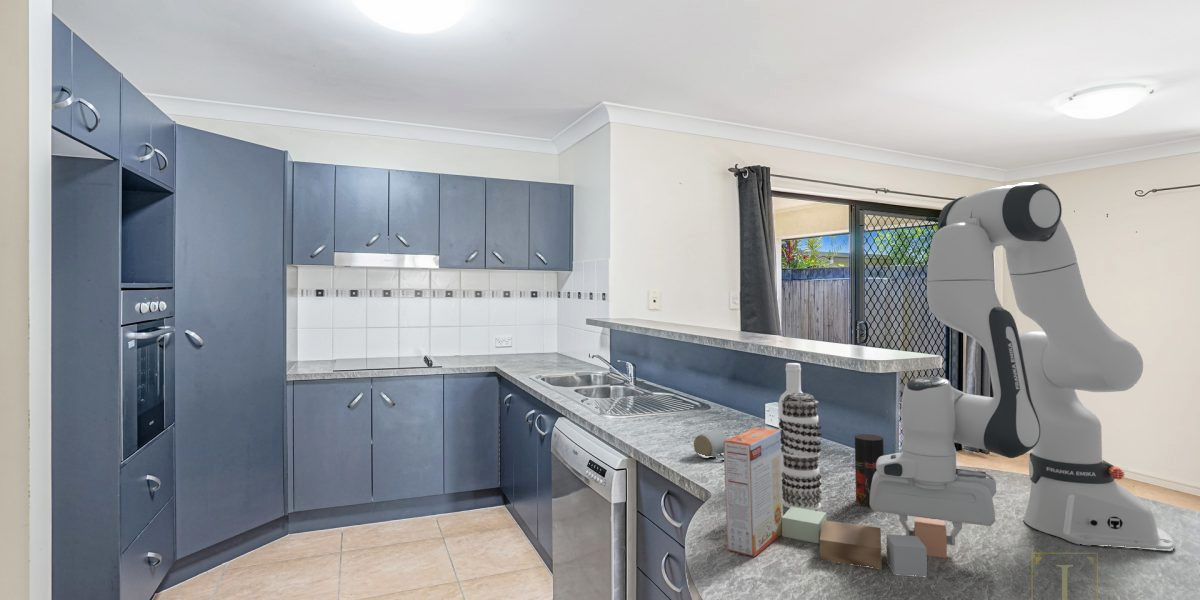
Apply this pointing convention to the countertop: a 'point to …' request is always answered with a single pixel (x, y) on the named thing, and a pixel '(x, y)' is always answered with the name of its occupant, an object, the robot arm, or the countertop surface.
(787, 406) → the decorative candle
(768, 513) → the cracker box
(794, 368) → the bottle
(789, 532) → the sage block
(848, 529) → the walnut block
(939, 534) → the terracotta cube
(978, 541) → the countertop surface
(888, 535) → the grey cube
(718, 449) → the ceramic mug
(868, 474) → the deodorant
